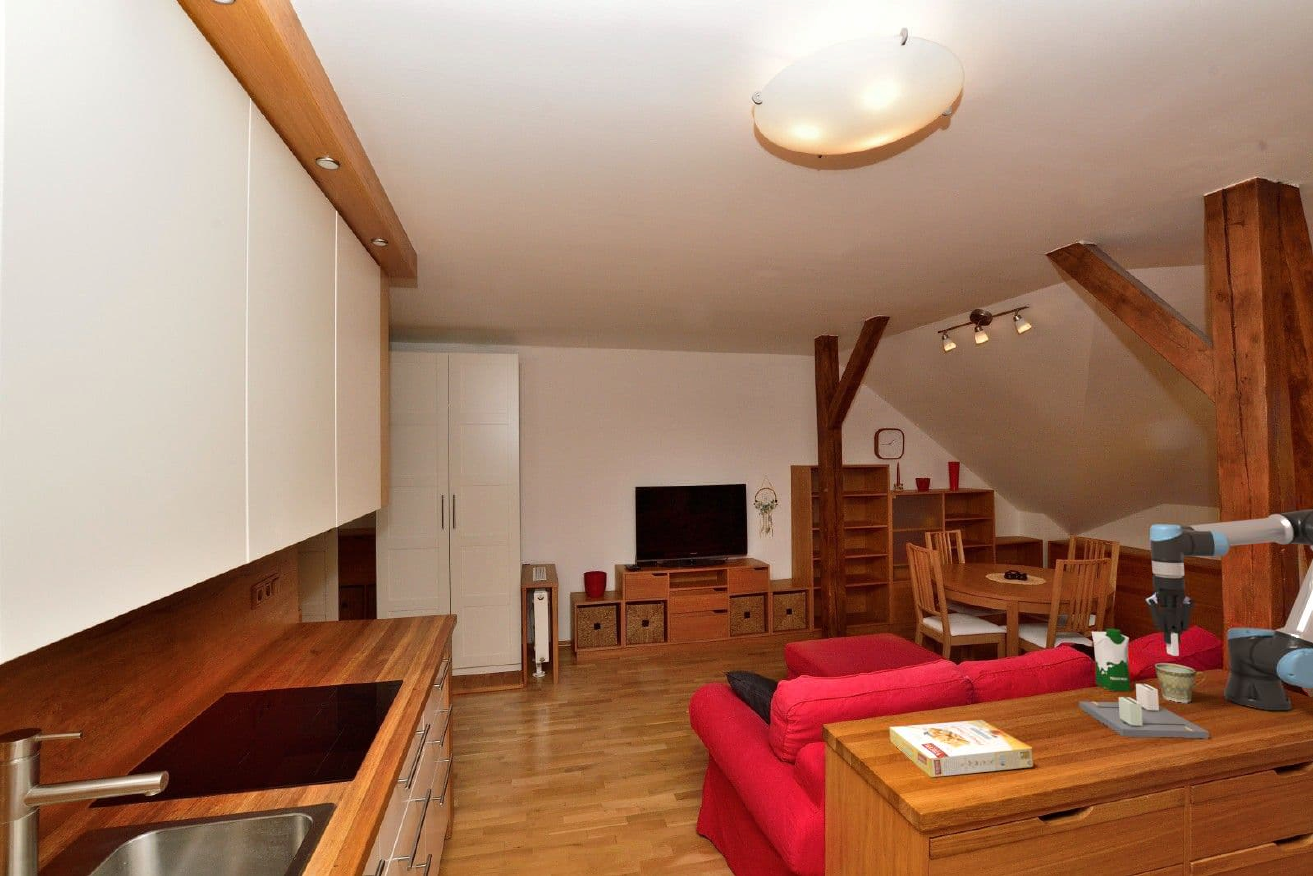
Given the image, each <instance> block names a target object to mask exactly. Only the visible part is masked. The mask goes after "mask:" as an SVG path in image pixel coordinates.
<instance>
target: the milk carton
mask: <svg viewBox="0 0 1313 876" xmlns="http://www.w3.org/2000/svg"><path fill="white" fill-rule="evenodd" d="M1105 630H1106V631H1091V636H1092V640H1093V645H1094V647H1093V648H1094V665H1095V685H1097V687H1100V688H1102V687H1106V688H1107V689H1108V690H1114V691H1113V692H1117V691H1131V681H1130V679H1131V678H1130V667H1129V666H1130V664H1129V642H1130V638H1129V637H1128V636H1126V635H1123V634H1122V630H1121V629H1118V628H1117V629H1116V628H1106V629H1105Z"/></svg>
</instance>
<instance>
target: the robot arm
mask: <svg viewBox="0 0 1313 876" xmlns="http://www.w3.org/2000/svg"><path fill="white" fill-rule="evenodd" d="M1149 530H1150V531H1149V541H1150V553H1151V554H1150V555H1151V567H1152V573H1153V574H1154V575H1152V587H1153V593H1152V596H1150V597H1145V598H1144V601H1145V603H1146V604H1147V605H1148V607H1149V610H1150V614H1151V618H1152V620H1153V624H1154V627H1155V629H1156V630H1159V631H1161V632H1162V634H1163V642H1164V643H1165V644H1166V654H1168V655H1171V656H1173V657H1174V656H1175V657H1178V656H1179V655H1180V653H1179V652H1180V651H1179V650H1180V649H1179V645H1180V644H1181V635H1182V634H1183V633H1184V632H1188V628H1189V625H1190V620H1191V615H1192V614H1191V613H1192V610H1193V607H1194V605H1195V604H1196V600H1195V599H1192V598H1190V597H1189V596H1187V593H1186V592H1185V589H1186V583H1185V580H1186V579H1185V578H1184V576H1185V565H1184V557H1212V558H1214V557H1223V556H1225V555H1227V554H1228V552H1229V550H1230V547H1232V546H1242V545H1256V544H1265V543H1277V544H1279V545H1291V544H1294V545H1305V546H1306V545H1307V546H1309V548H1310V549H1311V550H1312V552H1313V509H1311V508H1310V509H1302V510H1296V511H1289V512H1283V513H1274V514H1270V515H1269V516H1268V517H1264V518H1253V519H1245V520H1234V521H1223V522H1214V523H1213V522H1212V523H1203V524H1195V525H1193V524H1192V525H1185V526H1180V525H1178V524H1169V523H1168V524H1164V523H1163V524H1162V523H1161V524H1159V523H1157V524H1155V523H1154V524H1152V525H1151V526H1150V529H1149ZM1301 584H1302V585H1301V587H1300V589H1299V592H1298V594H1297V597H1296V598H1295V600H1294V604H1293V606H1292V608H1291V611H1290V613H1289V615H1288V619H1287V620H1286V623H1285V625H1284V627H1280V628H1277V629H1275V630H1273V629H1267V628H1256V627H1232V628H1229V629H1228V630H1227V638H1226V641H1227V649H1228V659H1229V661H1228V662H1229V676H1228V678H1227V681H1226V685H1225V687H1224V689H1223V693H1224V696H1225V697H1224V698H1225V699H1226V700H1227V699H1228V700H1227V701H1229V700H1231V701H1233V702H1236V703H1238V704H1237V705H1239V704H1241V705H1240V706H1242V705H1249V706H1252V707H1256V708H1260V709H1266V710H1265V711H1267V710H1289V709H1291V710H1292V702H1291V699H1290V698H1289V695H1288V692H1287V690H1286V689H1285V686H1284V684H1283V682H1284V683H1287V684H1288V685H1290V686H1297V687H1299V688H1300V687H1301V688H1304V689H1305V688H1306V689H1313V559H1312V561H1311V562H1310V565H1309V568H1308V569H1307V573H1306V575H1305V576H1304V579H1303V581H1302V583H1301ZM1158 604H1159V605H1158ZM1282 681H1283V682H1282ZM1231 701H1230V702H1231ZM1233 702H1232V703H1233ZM1236 703H1235V704H1236ZM1260 709H1259V710H1260ZM1289 711H1290V710H1289Z"/></svg>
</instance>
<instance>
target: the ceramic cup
mask: <svg viewBox="0 0 1313 876" xmlns="http://www.w3.org/2000/svg"><path fill="white" fill-rule="evenodd" d="M1154 667H1155V668H1154V669H1155V672H1156V676H1157V680H1158V683H1159V686H1160V691H1161V694H1162V698H1163V699H1165V700H1167V701H1169V700H1172V701H1171V702H1173V701H1175V702H1174V703H1177V702H1181V703H1180V704H1189V703H1191V702H1192V696H1193V695H1192V694H1193V689H1194V688H1195V687H1197V685H1199V684H1201V683H1202V682H1204V681H1205V680H1206V674H1205V673H1204V672H1202V671H1200V670H1199V671H1198V670H1197V671H1196V670H1195V669H1194V668H1192V667H1189V666H1185V665H1181V664H1176V663H1166V662H1164V663H1163V662H1161V663H1155V664H1154ZM1199 674H1201V675H1203V677H1202V679H1200V680H1198V681H1197V682H1196V683H1195V680H1196V679H1195V678H1196V676H1197V675H1199ZM1190 701H1191V702H1190ZM1188 702H1189V703H1188Z"/></svg>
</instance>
